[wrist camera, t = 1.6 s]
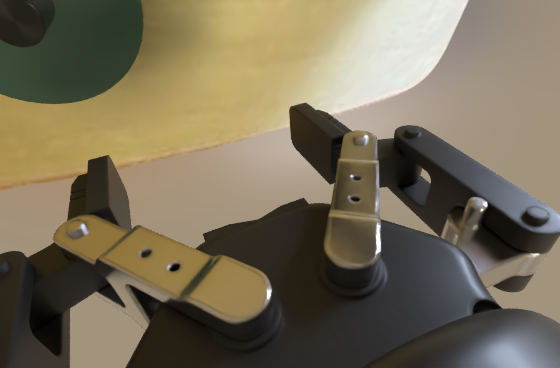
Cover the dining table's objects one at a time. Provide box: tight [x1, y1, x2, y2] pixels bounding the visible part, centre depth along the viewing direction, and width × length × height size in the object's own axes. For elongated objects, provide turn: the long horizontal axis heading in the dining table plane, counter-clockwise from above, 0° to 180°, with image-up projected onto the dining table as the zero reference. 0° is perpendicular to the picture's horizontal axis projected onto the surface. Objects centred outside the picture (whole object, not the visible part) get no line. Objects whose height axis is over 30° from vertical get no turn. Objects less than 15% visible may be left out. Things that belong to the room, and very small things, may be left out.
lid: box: [0, 0, 143, 104], centre depth 18 cm, size 12×12×6 cm
